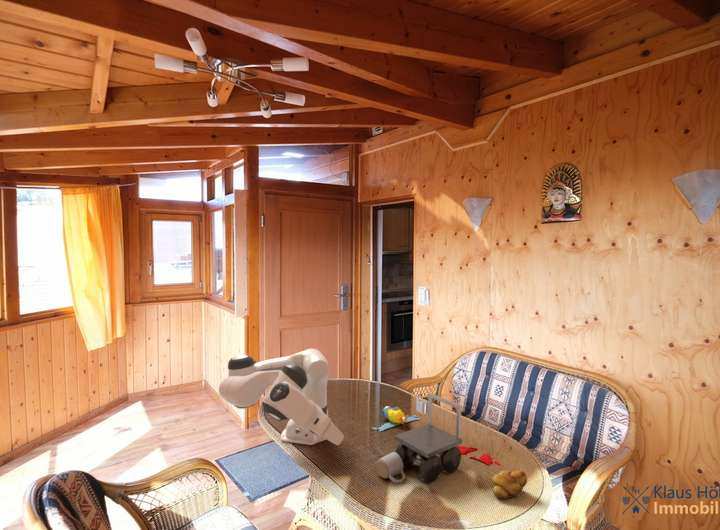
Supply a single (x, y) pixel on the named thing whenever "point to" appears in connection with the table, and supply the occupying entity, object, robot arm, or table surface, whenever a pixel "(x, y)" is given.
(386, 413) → the owl figurine
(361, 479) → the table surface
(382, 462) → the ceramic mug
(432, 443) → the trolley
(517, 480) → the bread roll
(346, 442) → the table surface
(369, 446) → the table surface
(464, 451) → the cloth
